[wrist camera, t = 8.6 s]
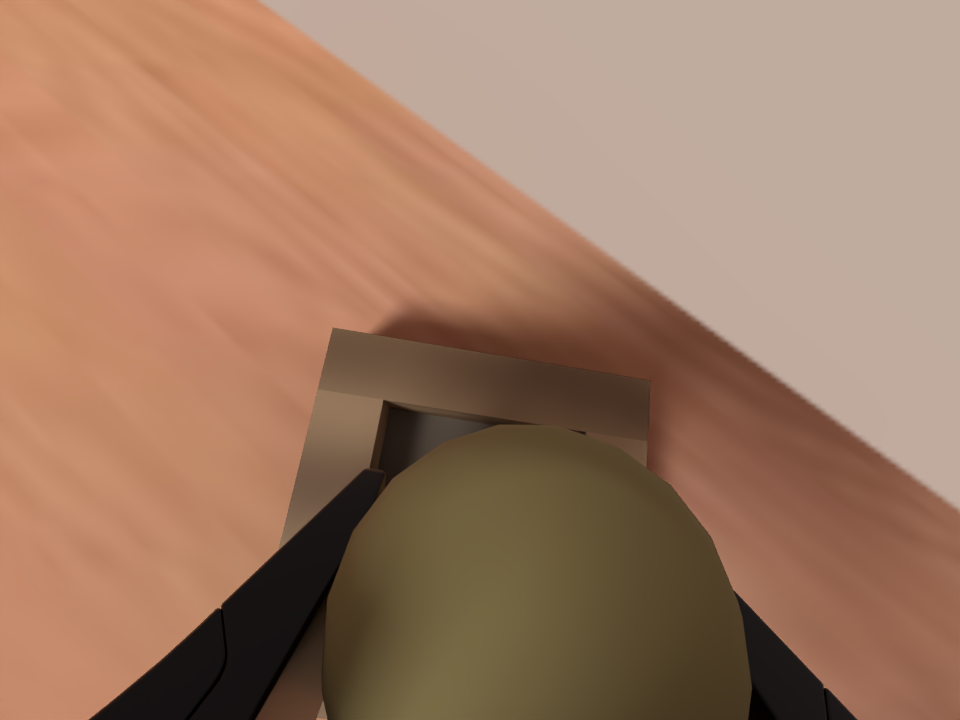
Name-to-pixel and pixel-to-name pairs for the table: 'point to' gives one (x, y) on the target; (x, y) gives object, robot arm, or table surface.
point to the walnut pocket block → (443, 410)
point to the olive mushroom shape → (532, 592)
